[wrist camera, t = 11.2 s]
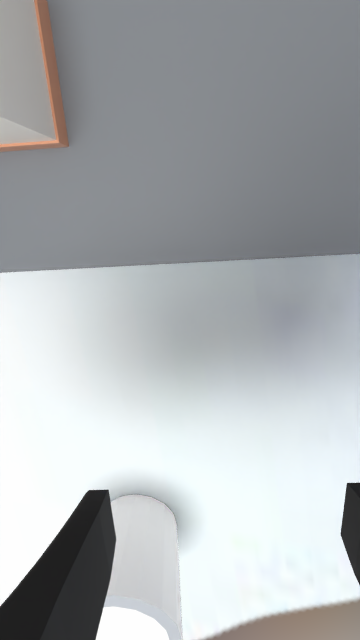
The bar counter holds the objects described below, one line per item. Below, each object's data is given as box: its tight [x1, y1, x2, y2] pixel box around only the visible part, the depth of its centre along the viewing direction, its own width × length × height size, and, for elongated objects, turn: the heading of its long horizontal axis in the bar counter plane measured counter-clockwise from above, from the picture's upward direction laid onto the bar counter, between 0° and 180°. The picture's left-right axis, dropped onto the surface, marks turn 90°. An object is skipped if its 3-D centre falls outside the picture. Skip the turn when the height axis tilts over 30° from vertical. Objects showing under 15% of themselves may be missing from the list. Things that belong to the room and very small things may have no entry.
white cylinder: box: [96, 494, 183, 640], centre depth 22 cm, size 7×7×7 cm
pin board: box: [0, 0, 360, 273], centre depth 15 cm, size 22×16×2 cm
